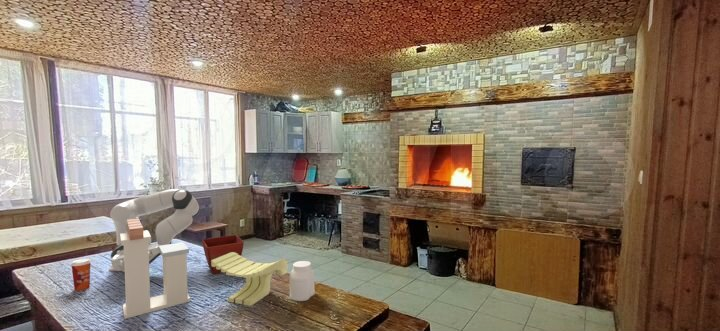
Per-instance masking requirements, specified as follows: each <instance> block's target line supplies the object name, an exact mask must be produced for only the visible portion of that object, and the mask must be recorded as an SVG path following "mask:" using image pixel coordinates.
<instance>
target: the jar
mask: <svg viewBox="0 0 720 331" xmlns="http://www.w3.org/2000/svg"><path fill="white" fill-rule="evenodd" d="M288 277H289V298H290V299H291V300H293V301H295V302H305V301H308V300H309V299H310V298H311V297H313V296H314V295H315V294H316V293H315V292H316V291H315V272H314V270H313V268H312V262H310V261H308V260H299V261H295V262H294V263H293V264H292V270H291V271H290V274H289V276H288Z"/></svg>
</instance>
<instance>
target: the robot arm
mask: <svg viewBox="0 0 720 331" xmlns="http://www.w3.org/2000/svg"><path fill="white" fill-rule="evenodd" d="M170 208H173V209H175V211H174V213H173V214H171V215H169V216H168V217H166V218H164V219H162V220H161V221H159V223H157V225H156V227H155V238H156V242H157V243H154V244H152V240H151V241H149V242H148V245H149V265H150V264H152V263H153V262H155V260H157V258H159V257H161V256H162V255H161V253H160V252H159V246H162V245H168V244H172V240H173V239H174V238H175V237H176V236H178V235H179V234H180V233H182V232H183V231H184V230H185V229H187V228H188V227H190V225H191V224H192V223H193V219H195V218H197V217H198V216H199V215H200V214H201V206H200V204H199V203H198V201H197V199H196V198H195V197H194V196H193V194H192V192H190V191H189V190H188V189H179V188H172V189H166V190H161V191H158V192H154V193H150V194H148V195H147V194H146V195H143V196H139V197H136V198H132V199H128V200H125V201H123V202H120V203H118V204H116V205H115V206H113V207H112V209H111V210H110V213H109V216H110V219H111V220H112V221H113V224H114V228H115V233H116V234H115V235H116V245H115V248H114V249H113V250H112V251H111V253H110V258H111V260H110V262H111V266H110V267H109V269H108V271H110V272H115V271H116V272H122V274H123V275H124V276H125V266H124V245H122V246H121V240H120V234H123V233H128V231H127V220H129V219H137V218H138V217H141V216H146V215H149V214H154V213H158V212H160V211H164V210H168V209H170Z"/></svg>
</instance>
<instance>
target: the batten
mask: <svg viewBox="0 0 720 331" xmlns="http://www.w3.org/2000/svg"><path fill="white" fill-rule="evenodd" d="M127 231H128V235H129V238H130V240H137V239H144V235H143V231H144V227H143V225H142V222H141V220H140V218H136V219H129V220H127Z"/></svg>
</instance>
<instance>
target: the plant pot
mask: <svg viewBox="0 0 720 331" xmlns="http://www.w3.org/2000/svg"><path fill="white" fill-rule="evenodd" d="M201 241H202V242H201V243H202V248H203V251H204V255H205V260H206V262H207V265H208V267H209V270H210V272H211V274H212V275H213V276H215V275H218V274H225V273H226V272H221V269H220V270H218V269H216V267H212V266H211V260H213V259H216V258H218V257H221V256H223V255H226V254H228V253H230V252H235V253H238V255H240V256H243V251H244V244H245V242H244V240H243V239H241V237H239V236H238V235H237V234H231V235H225V236H224V235H223V236H217V237H210V238H204V239H203V238H202V240H201Z"/></svg>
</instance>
